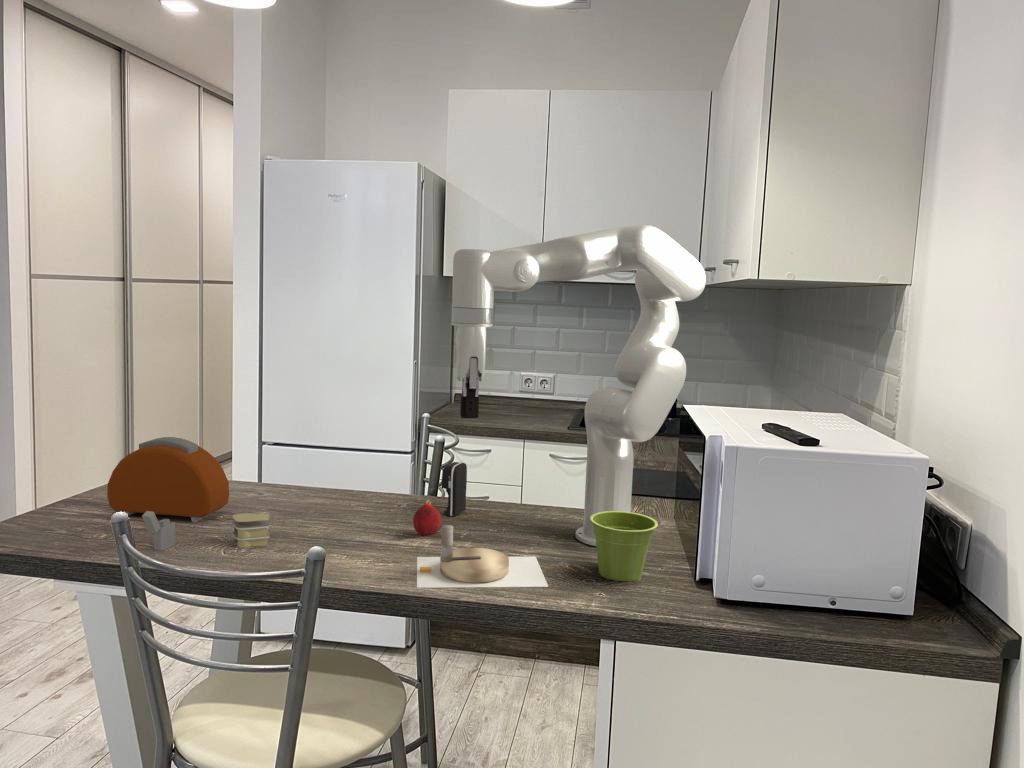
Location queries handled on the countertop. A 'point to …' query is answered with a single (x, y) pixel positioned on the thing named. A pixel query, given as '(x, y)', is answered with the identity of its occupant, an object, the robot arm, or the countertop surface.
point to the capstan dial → (470, 561)
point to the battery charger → (455, 487)
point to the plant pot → (622, 543)
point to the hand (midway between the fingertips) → (469, 417)
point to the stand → (519, 575)
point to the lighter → (160, 531)
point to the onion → (427, 520)
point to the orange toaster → (168, 480)
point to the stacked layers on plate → (251, 529)
